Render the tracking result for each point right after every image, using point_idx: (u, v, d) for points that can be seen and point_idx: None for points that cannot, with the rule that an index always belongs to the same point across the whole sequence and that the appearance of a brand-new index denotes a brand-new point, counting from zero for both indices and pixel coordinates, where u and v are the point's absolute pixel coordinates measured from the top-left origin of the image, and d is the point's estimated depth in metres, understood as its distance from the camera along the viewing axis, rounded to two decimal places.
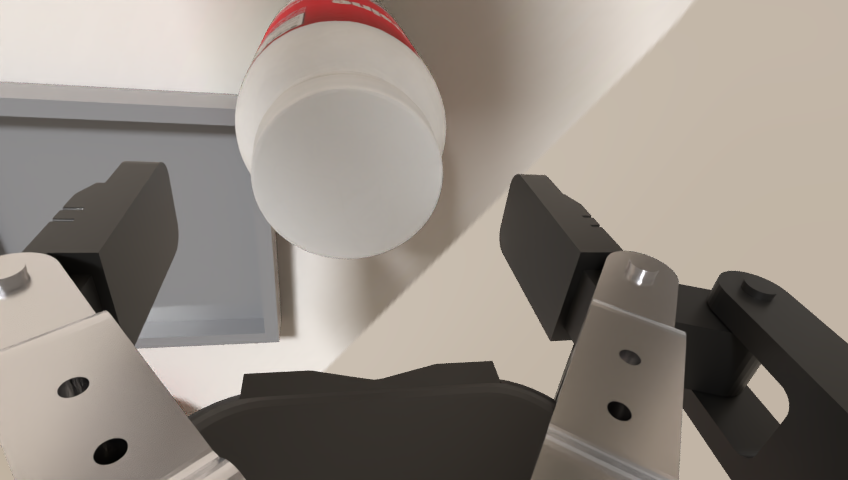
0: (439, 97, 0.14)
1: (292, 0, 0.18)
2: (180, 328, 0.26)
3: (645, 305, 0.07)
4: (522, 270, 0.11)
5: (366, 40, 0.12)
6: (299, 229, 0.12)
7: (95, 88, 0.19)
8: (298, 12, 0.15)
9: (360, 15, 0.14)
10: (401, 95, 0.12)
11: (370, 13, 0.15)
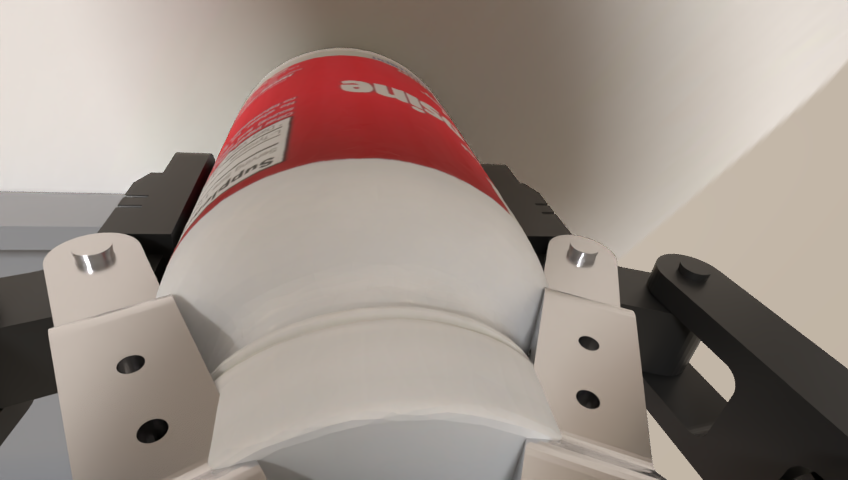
0: None
1: (278, 67, 0.12)
2: None
3: (591, 287, 0.08)
4: None
5: (417, 209, 0.06)
6: None
7: None
8: (281, 112, 0.08)
9: (395, 128, 0.08)
10: (509, 372, 0.05)
11: (408, 112, 0.09)
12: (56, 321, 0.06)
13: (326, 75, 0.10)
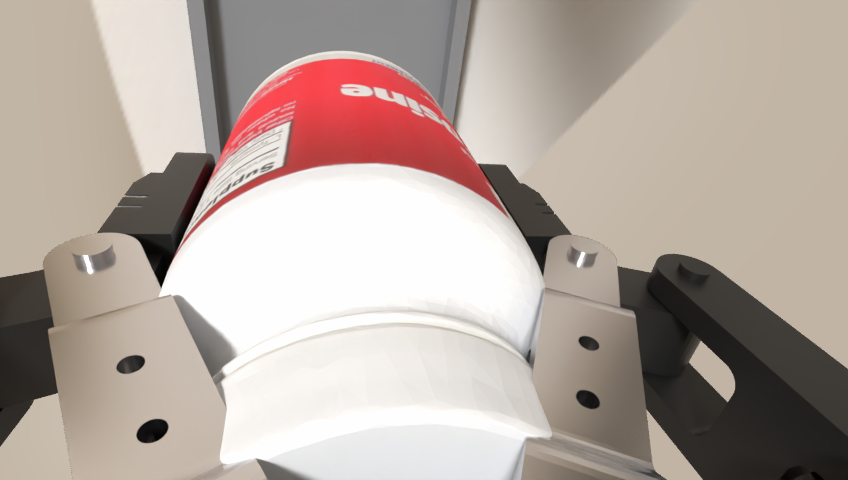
0: None
1: (278, 70, 0.12)
2: None
3: (590, 287, 0.08)
4: None
5: (415, 214, 0.06)
6: None
7: None
8: (281, 116, 0.08)
9: (394, 132, 0.08)
10: (508, 376, 0.05)
11: (408, 115, 0.09)
12: (56, 321, 0.06)
13: (326, 78, 0.10)
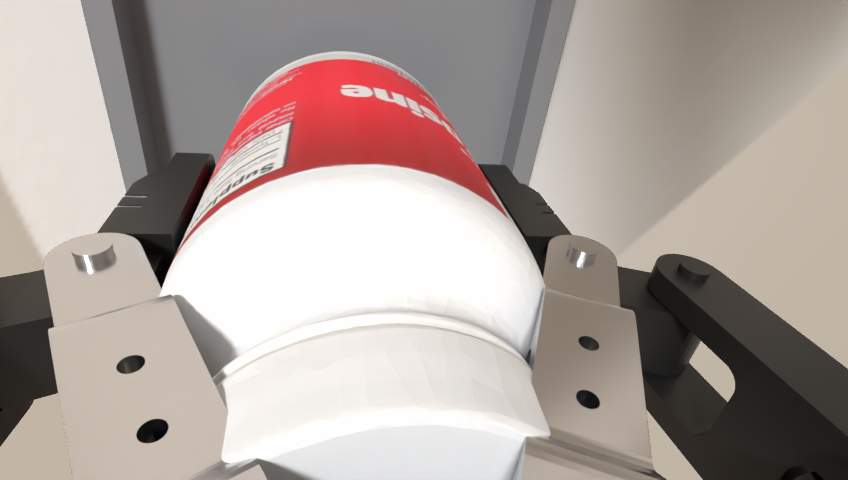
0: None
1: (278, 71, 0.12)
2: None
3: (591, 287, 0.08)
4: None
5: (415, 215, 0.06)
6: None
7: None
8: (281, 116, 0.08)
9: (394, 133, 0.08)
10: (507, 377, 0.05)
11: (408, 116, 0.09)
12: (56, 321, 0.06)
13: (326, 80, 0.10)
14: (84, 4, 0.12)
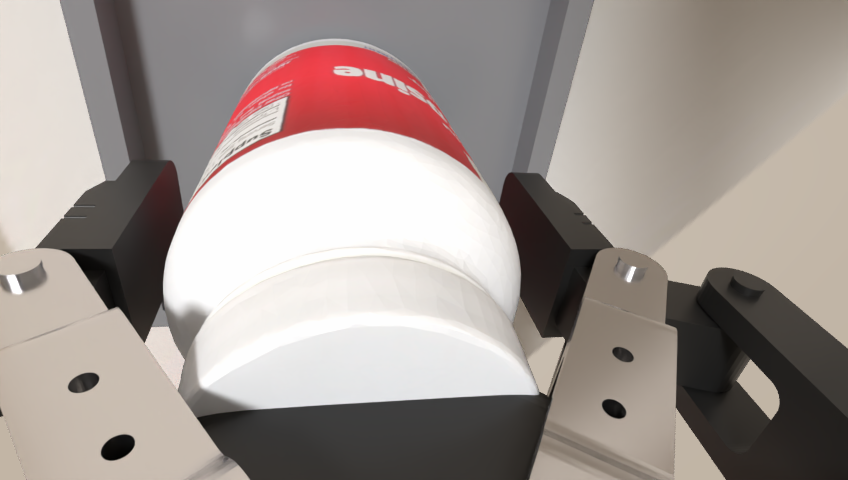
0: (514, 246, 0.08)
1: (276, 56, 0.13)
2: None
3: (636, 301, 0.08)
4: None
5: (395, 169, 0.07)
6: None
7: None
8: (279, 93, 0.09)
9: (380, 105, 0.08)
10: (469, 299, 0.06)
11: (394, 93, 0.10)
12: None
13: (321, 62, 0.11)
14: (66, 16, 0.11)
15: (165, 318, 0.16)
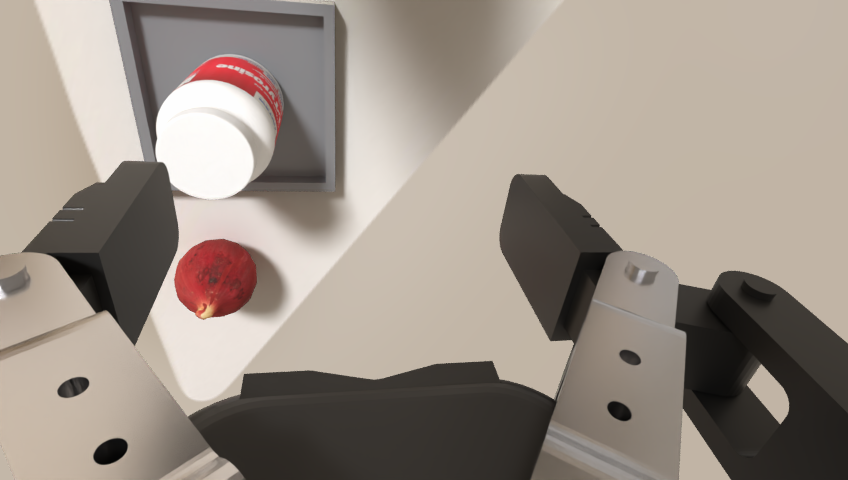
0: (263, 117, 0.27)
1: None
2: (267, 179, 0.36)
3: (645, 305, 0.07)
4: (522, 270, 0.11)
5: (217, 89, 0.25)
6: (183, 183, 0.25)
7: None
8: (195, 73, 0.28)
9: (223, 75, 0.27)
10: (228, 116, 0.24)
11: (234, 72, 0.28)
12: None
13: (214, 63, 0.29)
14: (120, 48, 0.30)
15: None
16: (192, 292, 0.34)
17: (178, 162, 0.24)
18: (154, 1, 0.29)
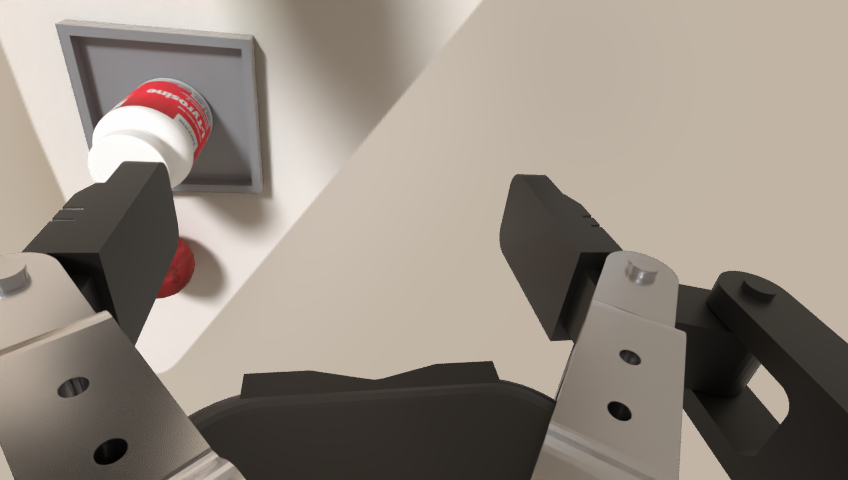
0: (181, 135, 0.33)
1: (141, 84, 0.37)
2: (201, 181, 0.43)
3: (645, 305, 0.07)
4: (522, 270, 0.11)
5: (140, 114, 0.31)
6: None
7: (161, 28, 0.37)
8: (128, 97, 0.34)
9: (149, 100, 0.33)
10: (146, 137, 0.30)
11: (161, 97, 0.34)
12: None
13: (146, 87, 0.35)
14: (69, 73, 0.36)
15: None
16: None
17: (106, 173, 0.30)
18: (96, 35, 0.35)
